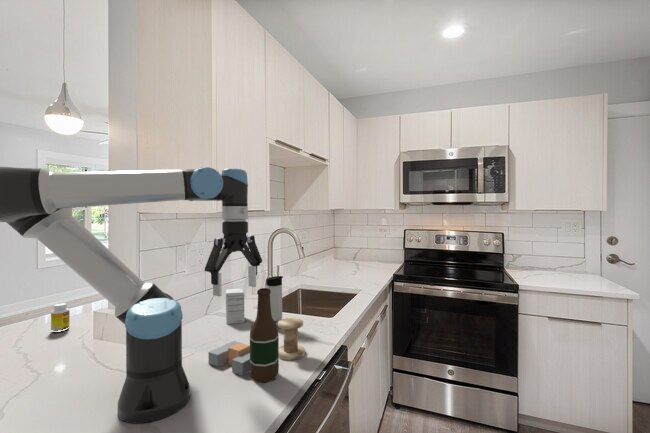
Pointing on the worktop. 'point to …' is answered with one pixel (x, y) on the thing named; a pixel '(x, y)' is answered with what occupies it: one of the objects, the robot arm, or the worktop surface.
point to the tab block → (237, 351)
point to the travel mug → (275, 297)
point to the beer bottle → (264, 341)
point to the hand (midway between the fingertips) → (235, 290)
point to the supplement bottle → (60, 317)
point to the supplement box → (235, 306)
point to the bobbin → (291, 339)
